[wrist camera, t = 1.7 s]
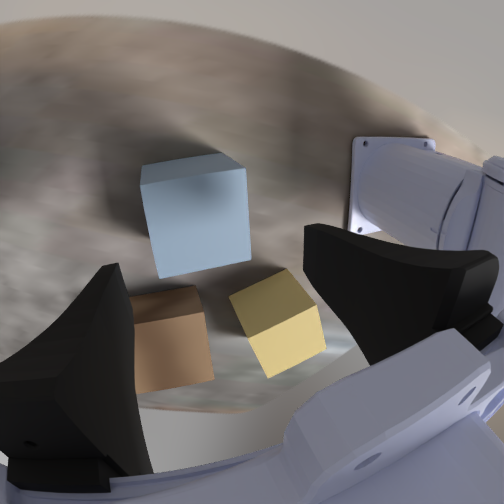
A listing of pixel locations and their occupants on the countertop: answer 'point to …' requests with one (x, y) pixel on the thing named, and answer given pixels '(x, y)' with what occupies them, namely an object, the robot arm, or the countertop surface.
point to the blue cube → (196, 213)
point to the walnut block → (170, 340)
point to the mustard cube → (279, 322)
